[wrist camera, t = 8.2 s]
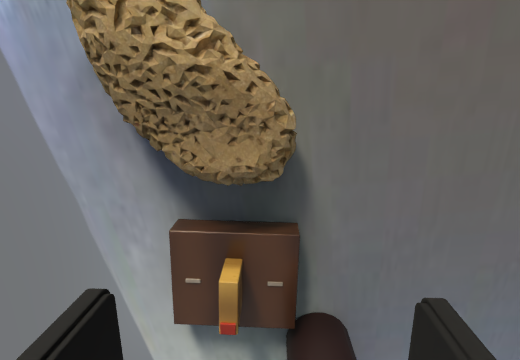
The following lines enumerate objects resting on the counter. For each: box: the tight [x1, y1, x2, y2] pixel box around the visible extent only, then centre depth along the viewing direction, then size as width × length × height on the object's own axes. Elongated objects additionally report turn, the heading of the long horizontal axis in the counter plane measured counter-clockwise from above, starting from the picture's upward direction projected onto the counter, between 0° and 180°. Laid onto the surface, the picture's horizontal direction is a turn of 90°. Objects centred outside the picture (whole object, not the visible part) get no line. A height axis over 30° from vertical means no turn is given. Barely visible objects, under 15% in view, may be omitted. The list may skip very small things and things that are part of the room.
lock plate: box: [169, 219, 300, 329], centre depth 32 cm, size 12×10×3 cm
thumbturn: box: [219, 258, 243, 335], centre depth 28 cm, size 5×2×4 cm, turn 179°
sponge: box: [66, 0, 297, 186], centre depth 25 cm, size 13×8×20 cm
